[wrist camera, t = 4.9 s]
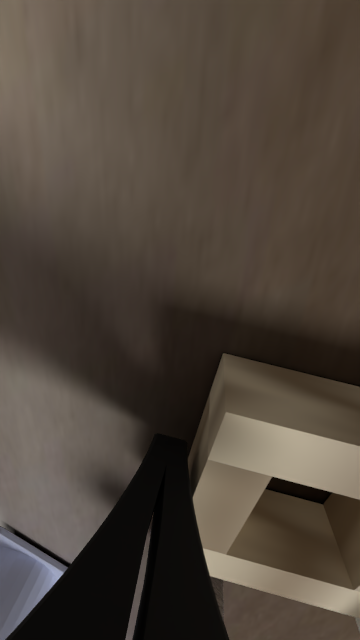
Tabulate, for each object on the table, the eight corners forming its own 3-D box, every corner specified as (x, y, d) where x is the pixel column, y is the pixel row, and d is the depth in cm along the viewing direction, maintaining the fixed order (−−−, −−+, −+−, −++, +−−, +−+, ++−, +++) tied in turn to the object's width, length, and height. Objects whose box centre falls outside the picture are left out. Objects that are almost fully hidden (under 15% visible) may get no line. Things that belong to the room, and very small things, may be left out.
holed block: (177, 490, 13) (167, 563, 10) (223, 353, 9) (226, 412, 7) (343, 536, 13) (377, 623, 10) (462, 412, 9) (569, 500, 6)
